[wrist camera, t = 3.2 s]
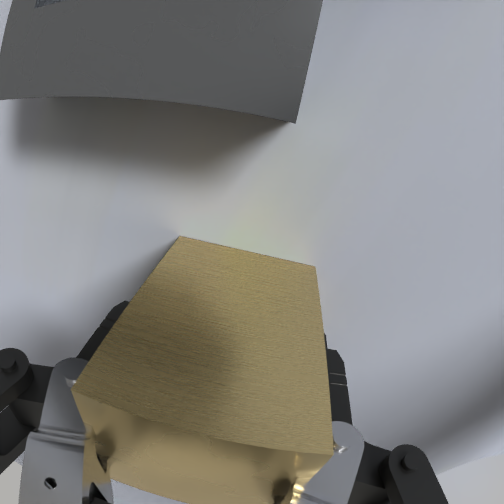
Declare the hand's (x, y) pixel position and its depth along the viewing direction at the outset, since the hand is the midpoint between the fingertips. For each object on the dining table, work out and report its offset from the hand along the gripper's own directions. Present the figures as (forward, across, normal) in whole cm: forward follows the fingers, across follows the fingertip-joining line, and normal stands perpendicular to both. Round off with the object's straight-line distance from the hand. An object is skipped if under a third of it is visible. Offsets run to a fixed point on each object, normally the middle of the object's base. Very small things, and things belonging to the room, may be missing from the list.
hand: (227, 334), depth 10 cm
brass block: (+2, 0, 0) cm, 2 cm away
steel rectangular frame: (+2, +4, -17) cm, 18 cm away
